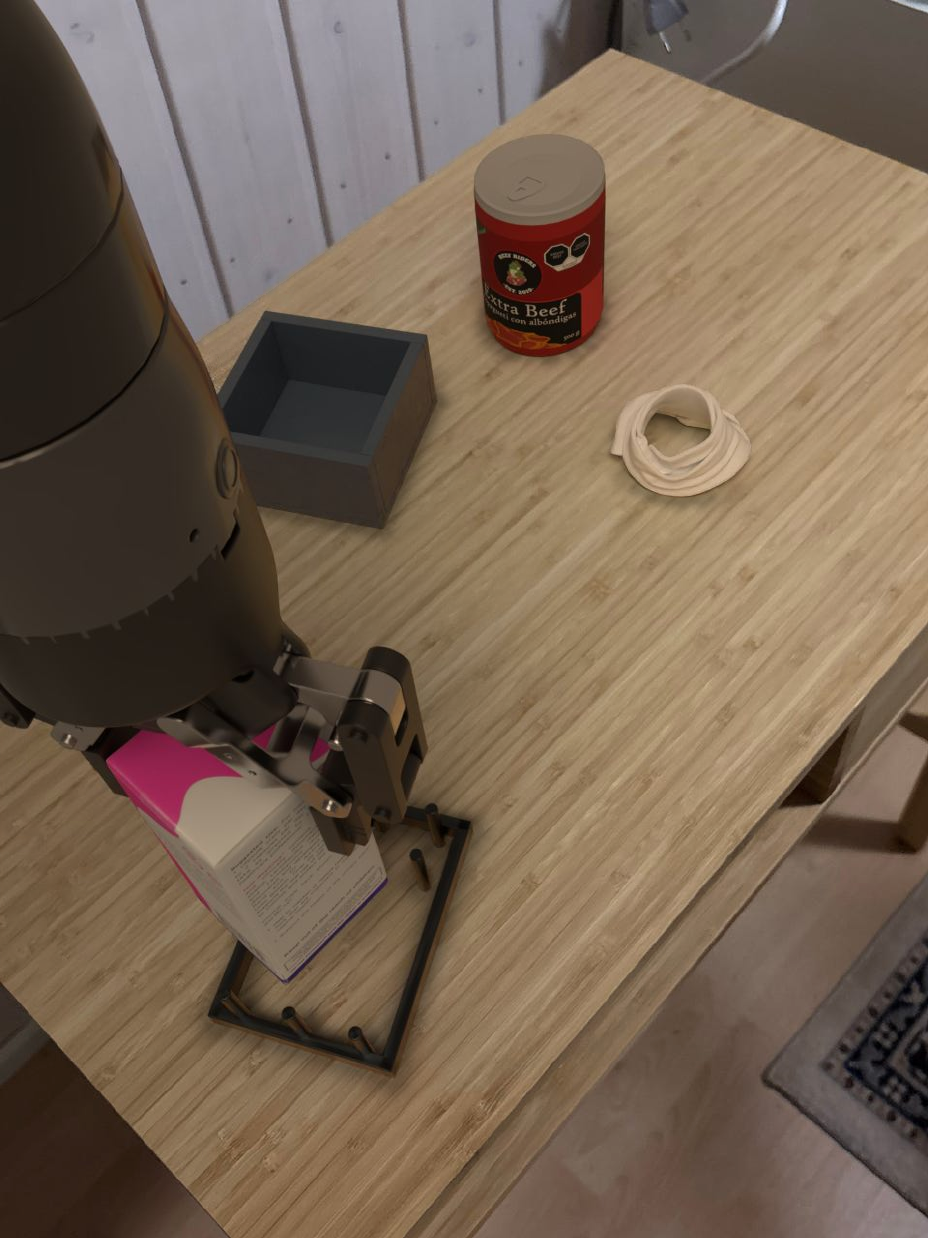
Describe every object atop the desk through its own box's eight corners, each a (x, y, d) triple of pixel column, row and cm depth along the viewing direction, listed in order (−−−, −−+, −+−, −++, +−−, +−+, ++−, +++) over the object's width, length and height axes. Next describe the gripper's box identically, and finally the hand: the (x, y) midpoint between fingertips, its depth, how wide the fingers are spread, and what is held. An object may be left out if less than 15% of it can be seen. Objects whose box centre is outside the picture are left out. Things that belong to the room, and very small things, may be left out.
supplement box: (395, 877, 46) (349, 744, 36) (286, 989, 44) (207, 879, 34) (298, 791, 48) (231, 645, 39) (190, 893, 46) (92, 765, 37)
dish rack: (394, 1079, 50) (381, 1057, 47) (213, 1022, 52) (188, 998, 49) (473, 830, 56) (466, 796, 53) (308, 789, 58) (291, 753, 55)
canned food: (466, 343, 75) (450, 200, 66) (516, 267, 79) (507, 121, 70) (575, 372, 73) (573, 228, 64) (620, 292, 77) (625, 145, 68)
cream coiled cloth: (753, 439, 70) (771, 377, 66) (733, 516, 66) (751, 455, 62) (625, 410, 71) (635, 347, 67) (598, 484, 67) (607, 422, 63)
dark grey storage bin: (382, 529, 67) (367, 466, 63) (219, 498, 70) (193, 435, 65) (437, 400, 73) (427, 333, 68) (284, 376, 75) (264, 309, 70)
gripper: (-291, 559, 25) (9, 849, 39) (306, 699, 22) (406, 961, 36) (-106, 330, 29) (109, 666, 43) (425, 421, 26) (475, 753, 40)
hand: (244, 800), depth 39 cm, fingers closed on supplement box, 7 cm apart
